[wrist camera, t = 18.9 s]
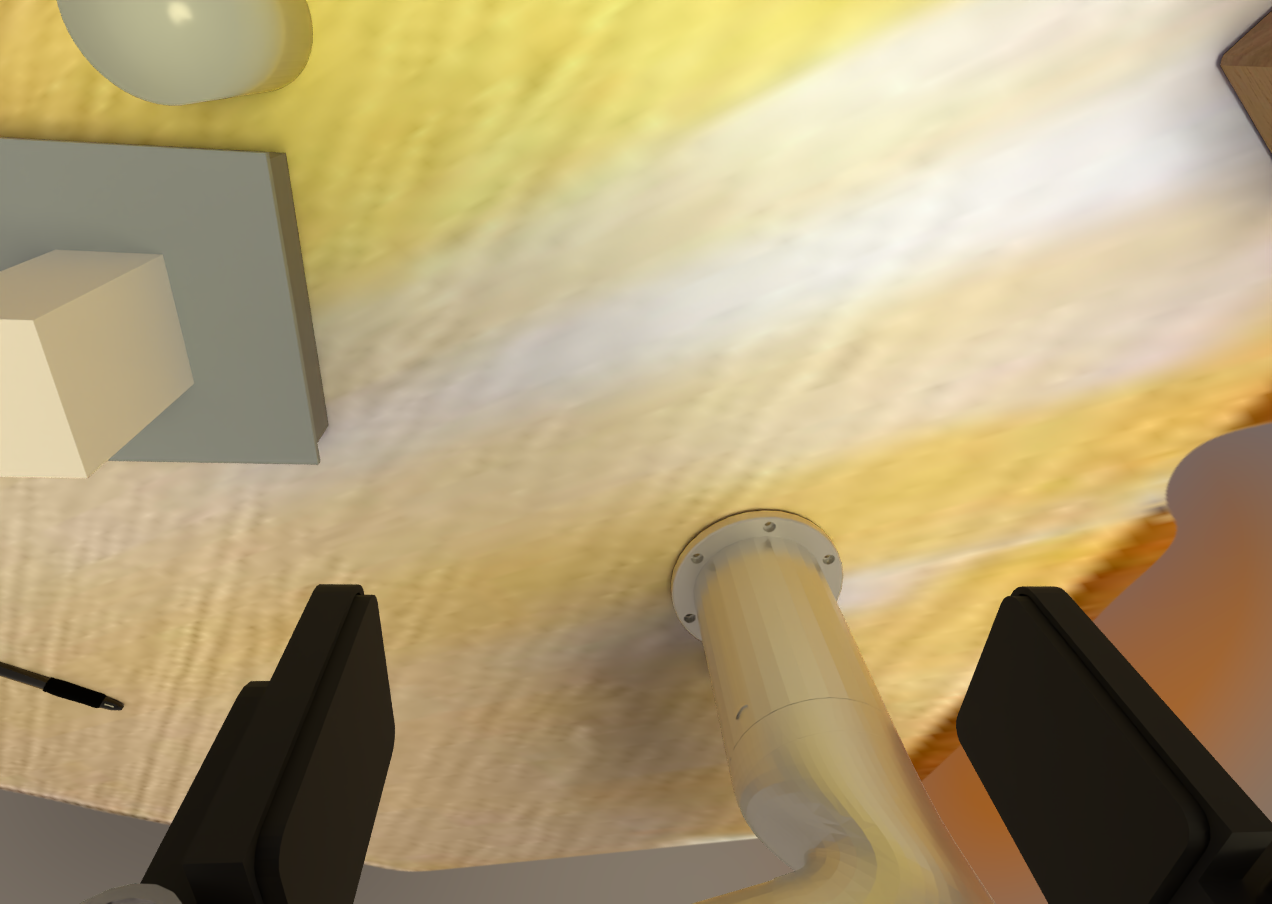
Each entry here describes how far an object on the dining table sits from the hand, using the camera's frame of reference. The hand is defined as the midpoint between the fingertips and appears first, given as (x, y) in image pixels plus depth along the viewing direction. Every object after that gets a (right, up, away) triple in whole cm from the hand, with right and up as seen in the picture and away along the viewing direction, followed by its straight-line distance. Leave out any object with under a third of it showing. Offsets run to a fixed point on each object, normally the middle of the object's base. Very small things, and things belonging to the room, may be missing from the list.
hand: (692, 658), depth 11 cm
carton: (-27, +10, +27) cm, 40 cm away
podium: (-28, +12, +31) cm, 43 cm away
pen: (-46, -13, +44) cm, 65 cm away
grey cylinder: (-20, +24, +24) cm, 40 cm away
